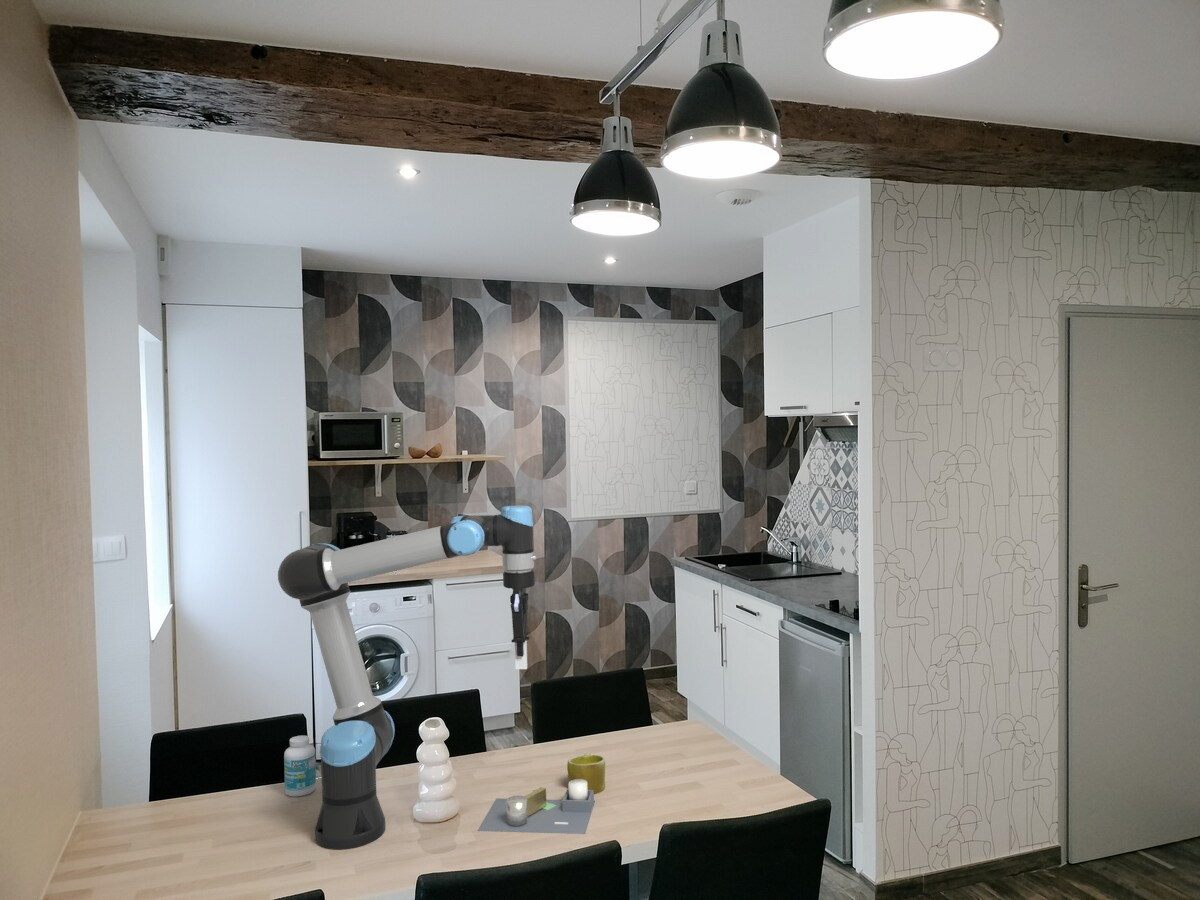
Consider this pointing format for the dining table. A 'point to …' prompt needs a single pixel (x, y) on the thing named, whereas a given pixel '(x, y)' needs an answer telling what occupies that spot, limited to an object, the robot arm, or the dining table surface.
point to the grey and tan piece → (524, 806)
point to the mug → (588, 771)
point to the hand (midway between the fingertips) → (521, 668)
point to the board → (544, 817)
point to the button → (578, 789)
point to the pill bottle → (299, 767)
